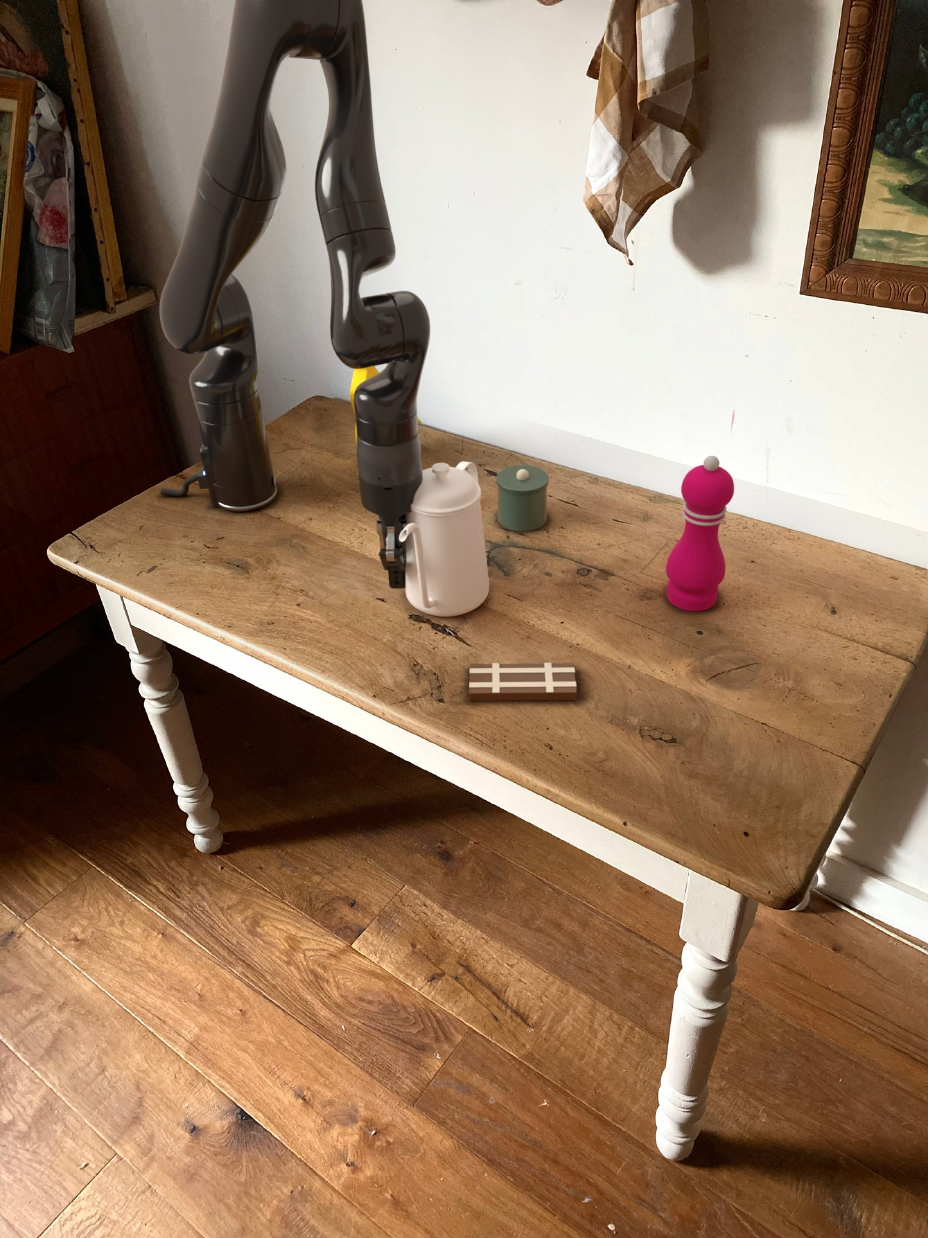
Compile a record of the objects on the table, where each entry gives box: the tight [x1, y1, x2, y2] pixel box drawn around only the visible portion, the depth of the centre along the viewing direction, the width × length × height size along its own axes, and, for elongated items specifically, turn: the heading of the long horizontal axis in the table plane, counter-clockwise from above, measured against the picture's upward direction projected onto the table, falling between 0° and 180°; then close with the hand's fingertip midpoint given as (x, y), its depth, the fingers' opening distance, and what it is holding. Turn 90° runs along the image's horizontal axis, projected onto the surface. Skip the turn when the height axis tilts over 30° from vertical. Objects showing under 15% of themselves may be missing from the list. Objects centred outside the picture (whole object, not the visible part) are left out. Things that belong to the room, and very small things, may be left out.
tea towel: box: [468, 662, 578, 702], centre depth 104 cm, size 12×5×1 cm, turn 89°
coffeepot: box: [399, 460, 490, 617], centre depth 113 cm, size 11×25×19 cm, turn 161°
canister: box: [495, 464, 550, 533], centre depth 130 cm, size 7×7×8 cm
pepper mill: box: [665, 455, 735, 612], centre depth 110 cm, size 7×7×20 cm
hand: (398, 585), depth 118 cm, fingers closed
